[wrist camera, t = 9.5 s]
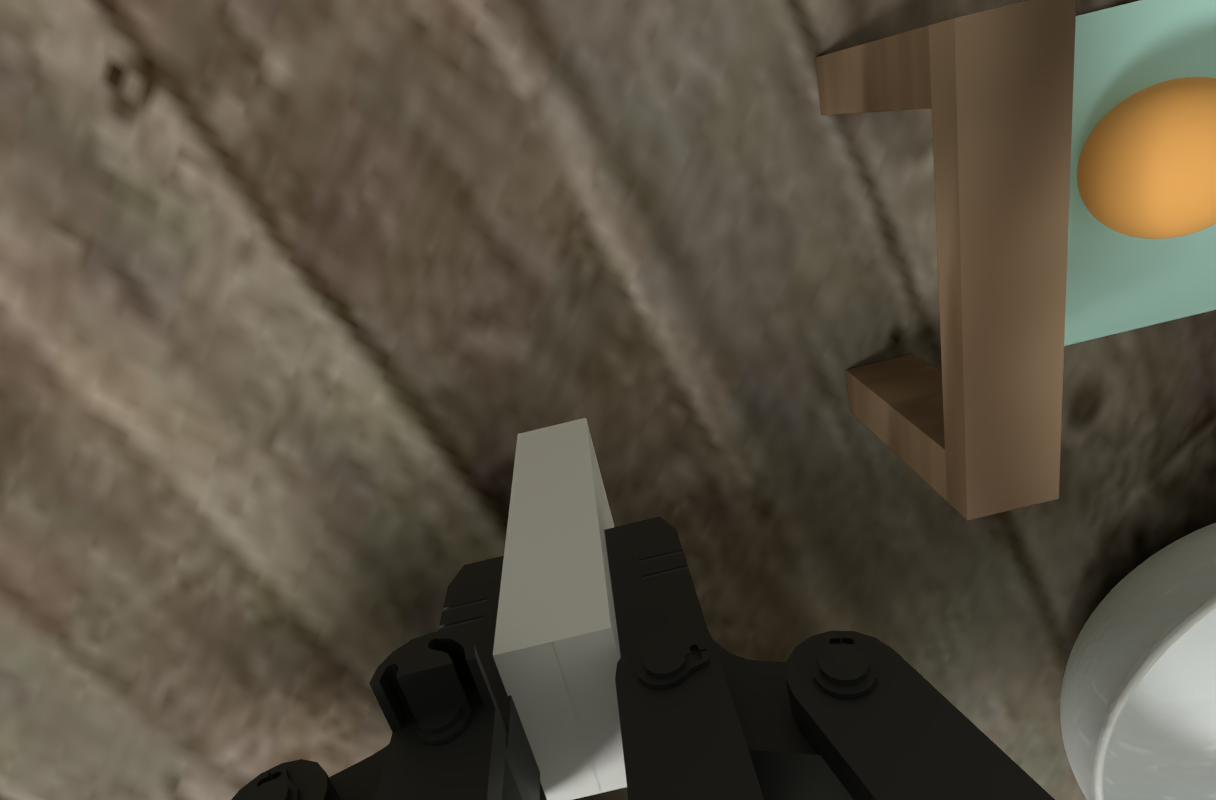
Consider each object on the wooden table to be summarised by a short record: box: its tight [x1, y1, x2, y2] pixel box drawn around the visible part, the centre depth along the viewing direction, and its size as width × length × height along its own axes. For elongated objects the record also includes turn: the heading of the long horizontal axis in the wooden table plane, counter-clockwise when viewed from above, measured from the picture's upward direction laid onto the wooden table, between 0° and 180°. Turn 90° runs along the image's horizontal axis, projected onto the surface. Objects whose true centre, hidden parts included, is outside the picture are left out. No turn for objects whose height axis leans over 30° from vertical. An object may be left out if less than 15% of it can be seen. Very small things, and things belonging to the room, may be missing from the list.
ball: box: [1077, 77, 1216, 239], centre depth 24 cm, size 6×6×6 cm
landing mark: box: [1064, 0, 1216, 346], centre depth 27 cm, size 13×13×1 cm
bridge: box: [816, 0, 1076, 520], centre depth 23 cm, size 3×14×9 cm, turn 13°
